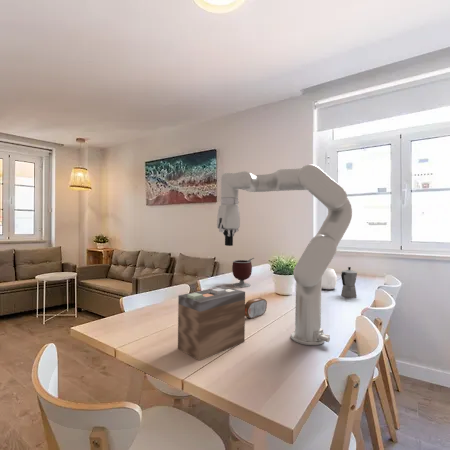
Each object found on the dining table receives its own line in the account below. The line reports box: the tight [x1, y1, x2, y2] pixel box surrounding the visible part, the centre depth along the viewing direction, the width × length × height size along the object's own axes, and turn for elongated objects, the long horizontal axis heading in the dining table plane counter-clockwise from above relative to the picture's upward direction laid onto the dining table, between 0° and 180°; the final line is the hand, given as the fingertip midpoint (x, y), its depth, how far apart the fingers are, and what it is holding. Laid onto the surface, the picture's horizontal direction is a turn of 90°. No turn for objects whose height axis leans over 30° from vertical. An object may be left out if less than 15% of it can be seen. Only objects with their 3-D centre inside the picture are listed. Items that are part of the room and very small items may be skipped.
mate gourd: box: [231, 257, 255, 288], centre depth 206 cm, size 16×14×20 cm
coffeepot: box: [340, 266, 358, 299], centre depth 180 cm, size 15×9×18 cm, turn 129°
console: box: [177, 286, 246, 362], centre depth 107 cm, size 12×22×19 cm, turn 134°
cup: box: [321, 267, 338, 290], centre depth 201 cm, size 13×13×14 cm
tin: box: [245, 297, 268, 319], centre depth 140 cm, size 15×3×8 cm, turn 135°
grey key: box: [210, 287, 226, 294], centre depth 109 cm, size 4×4×2 cm
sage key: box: [186, 292, 203, 300], centre depth 101 cm, size 4×4×2 cm
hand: (228, 245), depth 125 cm, fingers closed
